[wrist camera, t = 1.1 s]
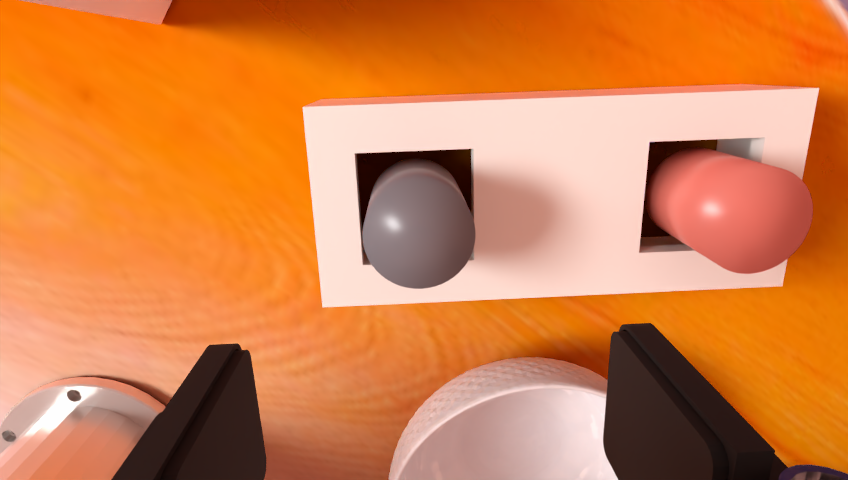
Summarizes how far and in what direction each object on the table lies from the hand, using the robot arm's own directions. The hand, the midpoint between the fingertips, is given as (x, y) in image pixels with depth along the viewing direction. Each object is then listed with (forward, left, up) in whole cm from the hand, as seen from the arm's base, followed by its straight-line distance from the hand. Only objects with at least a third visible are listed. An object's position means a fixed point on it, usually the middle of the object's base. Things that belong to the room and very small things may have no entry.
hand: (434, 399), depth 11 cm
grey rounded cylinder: (0, 0, -17) cm, 17 cm away
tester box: (0, -7, -22) cm, 23 cm away
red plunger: (0, -14, -17) cm, 22 cm away
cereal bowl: (-18, -6, -22) cm, 29 cm away
